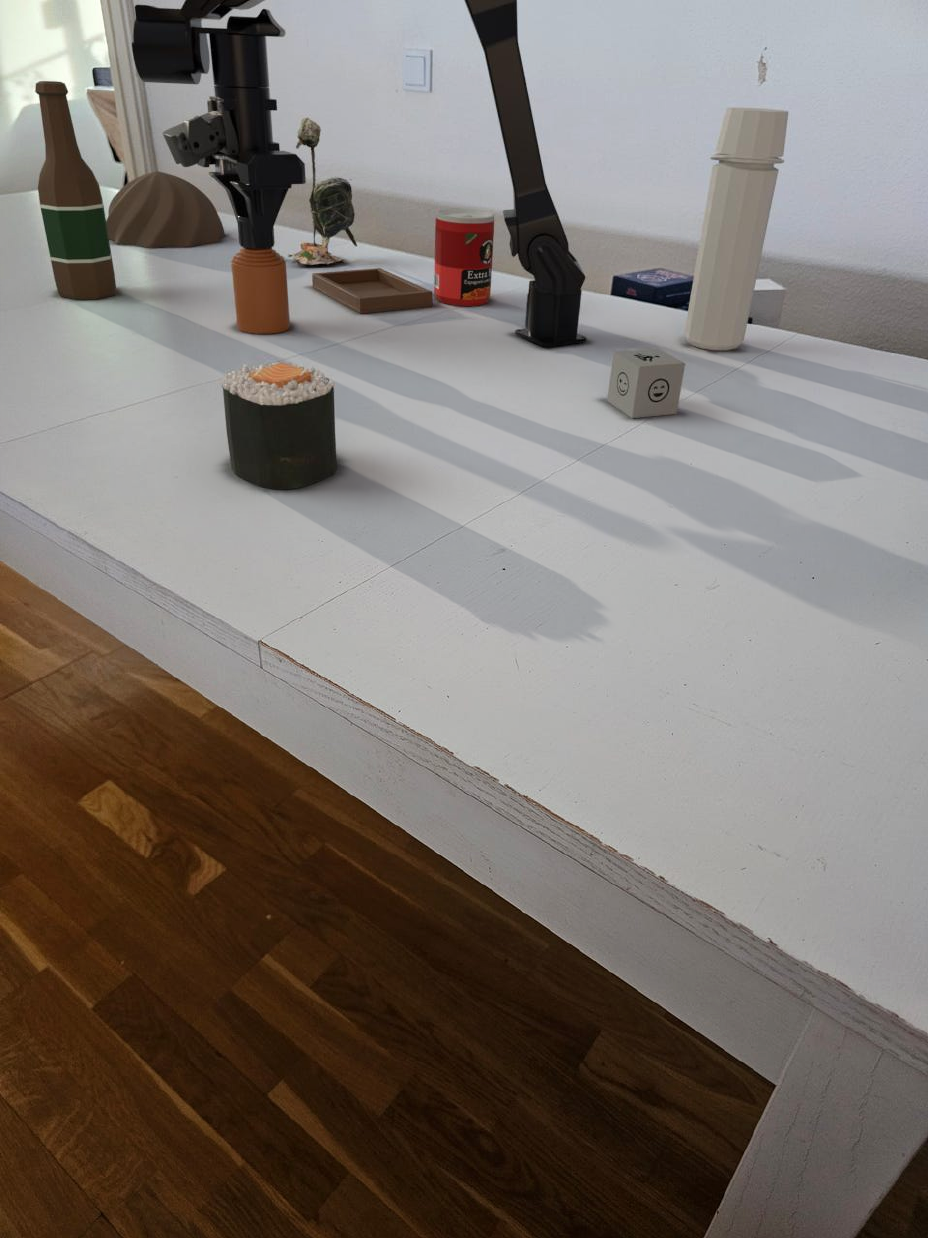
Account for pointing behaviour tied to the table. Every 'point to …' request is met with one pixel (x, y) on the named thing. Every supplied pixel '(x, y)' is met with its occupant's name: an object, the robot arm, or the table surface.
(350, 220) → the plant with pod
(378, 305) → the tray
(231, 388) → the sushi
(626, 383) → the dice cube
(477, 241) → the canned food
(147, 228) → the decorative dome
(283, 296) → the bottle
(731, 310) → the water bottle
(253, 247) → the cap
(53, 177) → the beer bottle
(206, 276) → the table surface
